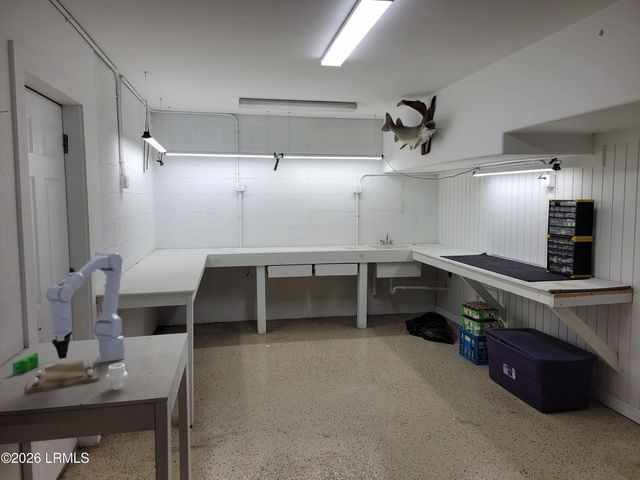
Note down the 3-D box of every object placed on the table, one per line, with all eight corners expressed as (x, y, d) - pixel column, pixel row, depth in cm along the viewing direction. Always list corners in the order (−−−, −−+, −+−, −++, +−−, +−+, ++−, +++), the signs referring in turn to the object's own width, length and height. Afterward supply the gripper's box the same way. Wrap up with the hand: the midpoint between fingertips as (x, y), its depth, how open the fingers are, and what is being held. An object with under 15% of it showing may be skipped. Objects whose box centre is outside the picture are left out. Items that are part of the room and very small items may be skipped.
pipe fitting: (124, 391, 149) (123, 368, 148) (103, 392, 149) (101, 369, 148) (131, 383, 155) (130, 361, 155) (110, 384, 155) (109, 362, 154)
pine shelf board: (46, 378, 157) (45, 365, 157) (84, 372, 163) (83, 359, 162) (45, 381, 155) (44, 367, 154) (84, 375, 160) (83, 362, 160)
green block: (22, 375, 164) (21, 363, 164) (13, 374, 165) (12, 363, 164) (44, 364, 175) (43, 352, 175) (35, 363, 176) (35, 352, 175)
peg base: (98, 369, 169) (98, 359, 169) (98, 380, 158) (97, 370, 158) (31, 380, 159) (30, 370, 159) (26, 392, 148) (25, 382, 148)
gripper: (50, 314, 162) (52, 350, 163) (46, 324, 149) (48, 363, 150) (71, 312, 165) (74, 347, 166) (69, 322, 152) (72, 359, 153)
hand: (63, 354), depth 159 cm, fingers open, 7 cm apart
